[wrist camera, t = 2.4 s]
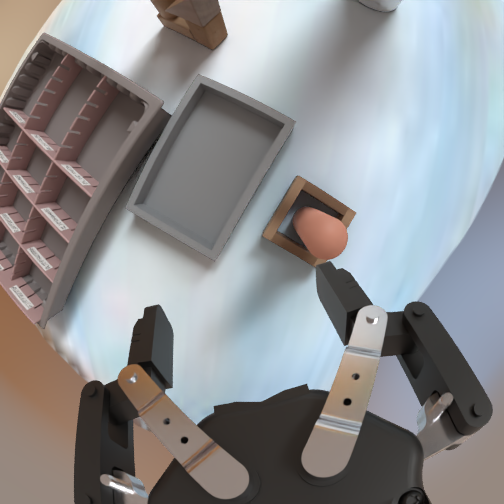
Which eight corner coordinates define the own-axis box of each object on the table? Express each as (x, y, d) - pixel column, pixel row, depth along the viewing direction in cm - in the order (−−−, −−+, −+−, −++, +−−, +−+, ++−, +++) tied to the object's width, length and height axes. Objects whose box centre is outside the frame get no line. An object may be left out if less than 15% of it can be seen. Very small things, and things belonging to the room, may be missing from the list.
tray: (204, 84, 34) (198, 74, 30) (293, 128, 35) (296, 121, 31) (137, 205, 38) (125, 208, 34) (219, 253, 39) (214, 261, 35)
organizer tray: (183, 116, 35) (158, 97, 26) (68, 312, 44) (36, 335, 34) (67, 45, 32) (36, 28, 23) (-13, 214, 40) (-44, 221, 31)
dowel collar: (295, 176, 36) (298, 175, 34) (349, 210, 37) (356, 212, 34) (262, 232, 38) (262, 236, 35) (316, 264, 39) (320, 270, 36)
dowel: (302, 200, 37) (320, 207, 24) (326, 216, 37) (355, 230, 25) (286, 226, 38) (297, 245, 25) (311, 241, 38) (332, 267, 26)
